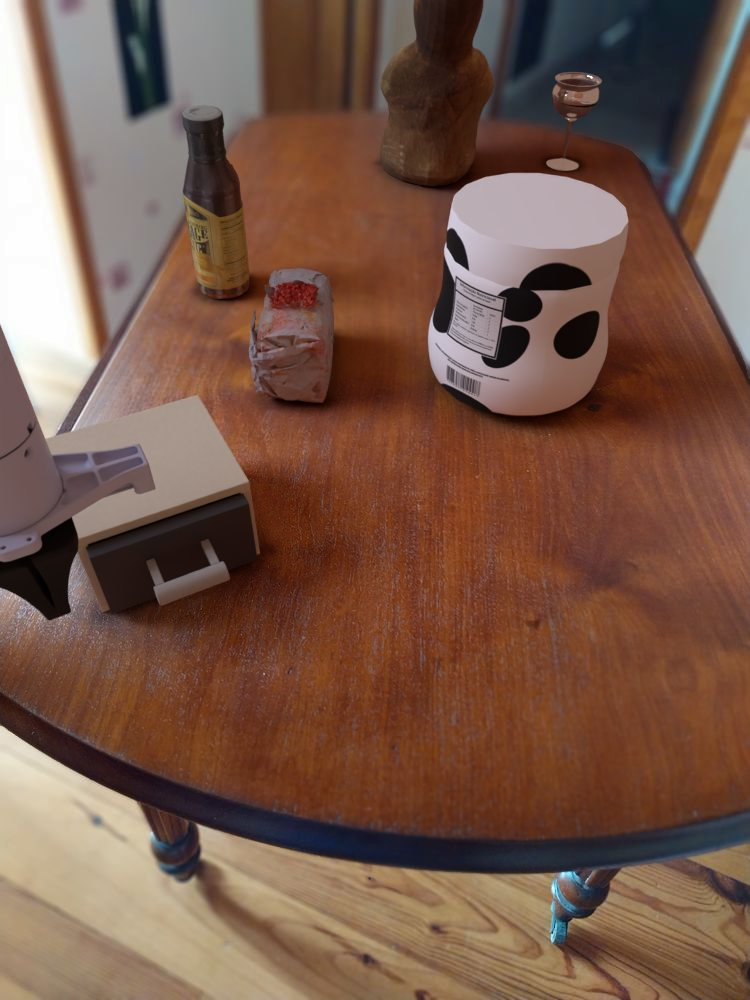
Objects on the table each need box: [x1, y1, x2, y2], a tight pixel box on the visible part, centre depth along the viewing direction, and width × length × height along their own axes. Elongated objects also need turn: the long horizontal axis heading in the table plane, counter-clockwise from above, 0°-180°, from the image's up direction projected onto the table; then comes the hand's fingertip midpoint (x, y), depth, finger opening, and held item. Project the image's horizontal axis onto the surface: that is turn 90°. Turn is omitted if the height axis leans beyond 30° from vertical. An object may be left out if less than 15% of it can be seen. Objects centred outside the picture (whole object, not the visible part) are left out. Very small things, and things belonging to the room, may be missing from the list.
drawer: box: [86, 494, 258, 615], centre depth 56 cm, size 14×11×6 cm
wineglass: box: [546, 71, 603, 172], centre depth 112 cm, size 7×7×12 cm
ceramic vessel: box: [379, 0, 495, 187], centre depth 102 cm, size 16×22×30 cm
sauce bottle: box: [181, 104, 251, 300], centre depth 82 cm, size 7×6×20 cm
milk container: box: [427, 172, 629, 418], centre depth 71 cm, size 17×17×18 cm
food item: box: [248, 267, 335, 404], centre depth 74 cm, size 14×8×10 cm, turn 1°
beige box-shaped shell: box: [45, 394, 261, 613], centre depth 59 cm, size 12×13×8 cm
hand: (56, 604), depth 45 cm, fingers closed
